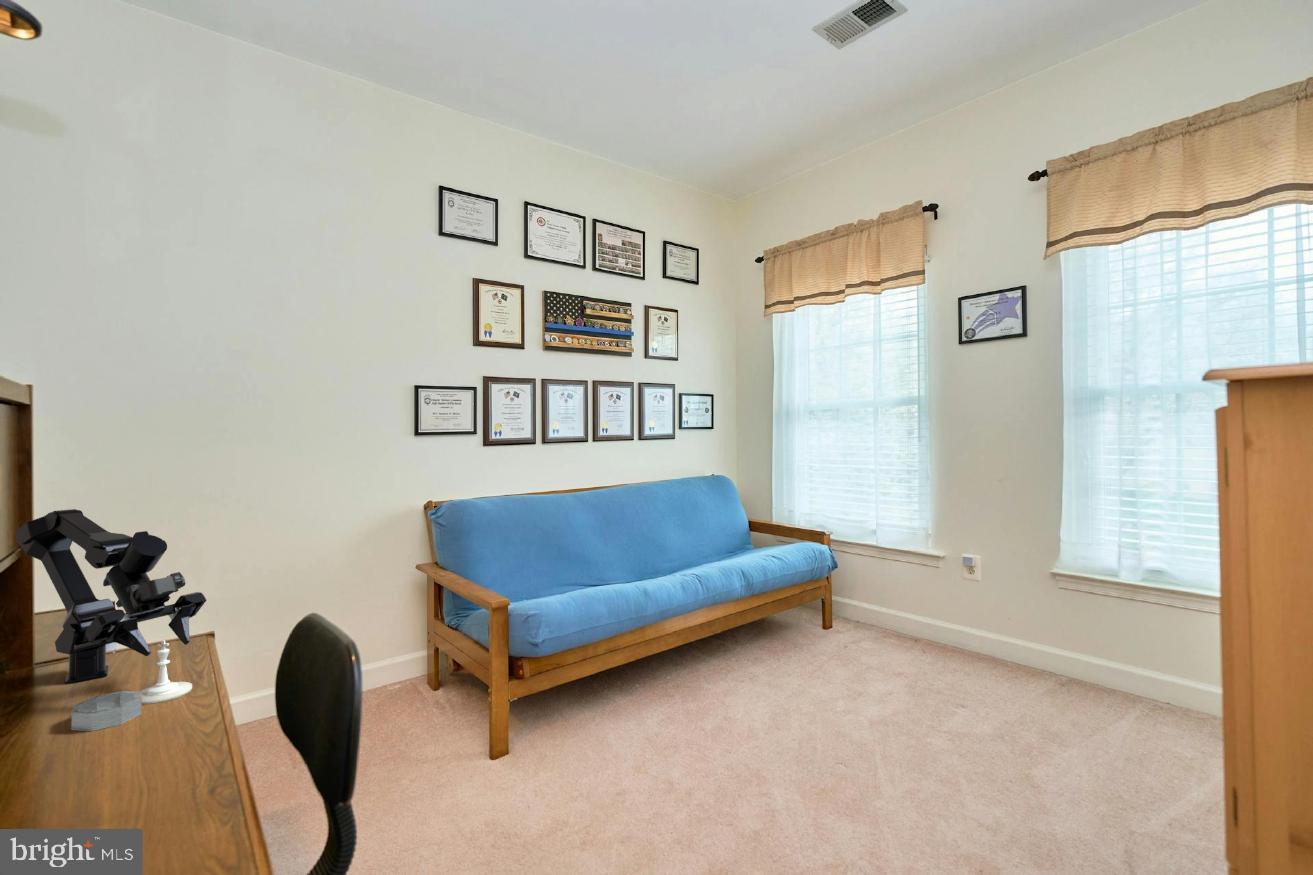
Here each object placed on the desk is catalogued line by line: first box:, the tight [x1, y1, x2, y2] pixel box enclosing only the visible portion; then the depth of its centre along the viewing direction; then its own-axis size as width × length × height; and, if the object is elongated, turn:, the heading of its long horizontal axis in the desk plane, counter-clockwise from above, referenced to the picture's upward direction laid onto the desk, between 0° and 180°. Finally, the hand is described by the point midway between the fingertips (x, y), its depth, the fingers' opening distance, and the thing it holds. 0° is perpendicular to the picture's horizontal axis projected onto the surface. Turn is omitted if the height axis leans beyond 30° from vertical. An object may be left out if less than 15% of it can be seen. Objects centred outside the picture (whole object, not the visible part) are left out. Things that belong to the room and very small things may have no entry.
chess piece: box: [147, 639, 179, 696], centre depth 119 cm, size 5×5×10 cm
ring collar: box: [71, 690, 142, 732], centre depth 108 cm, size 9×9×3 cm
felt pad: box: [139, 681, 193, 705], centre depth 119 cm, size 9×9×1 cm
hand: (168, 648), depth 118 cm, fingers open, 7 cm apart
